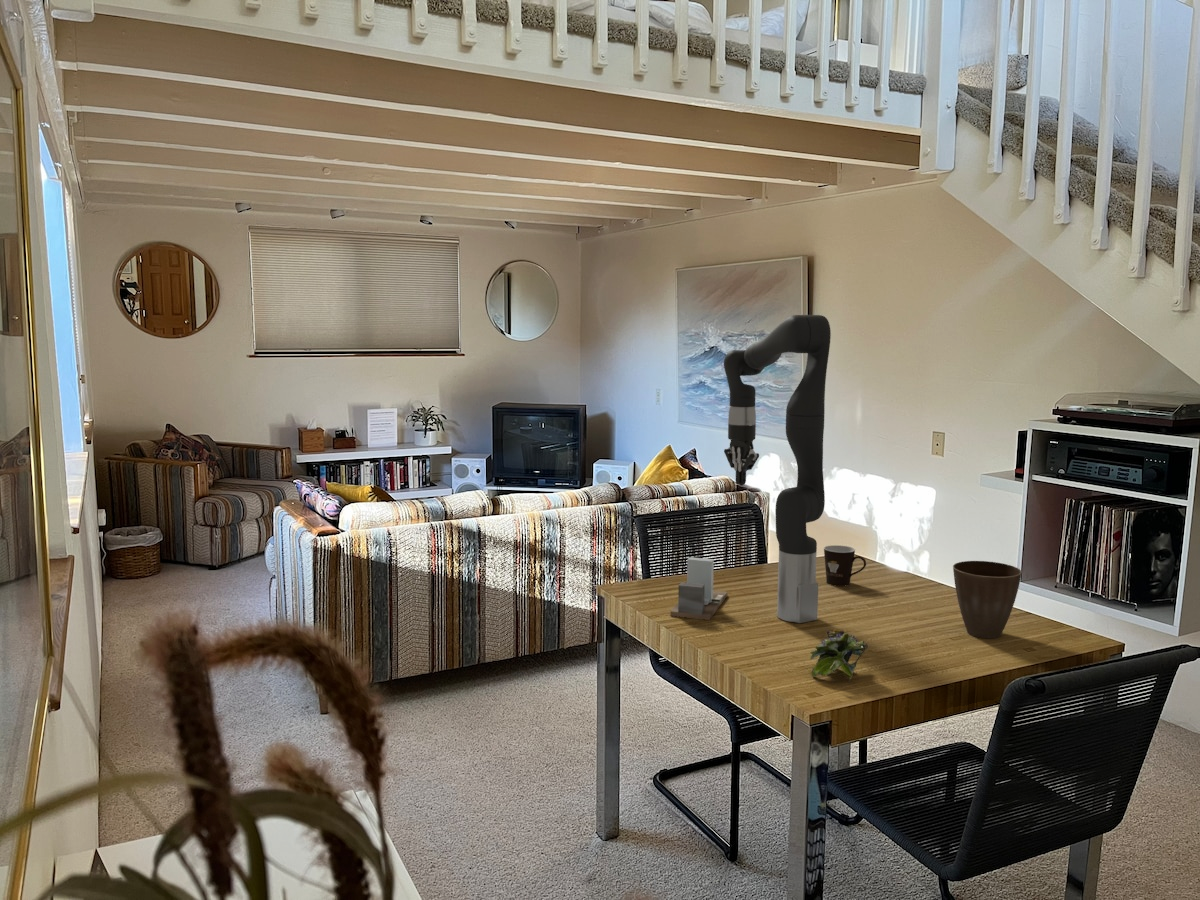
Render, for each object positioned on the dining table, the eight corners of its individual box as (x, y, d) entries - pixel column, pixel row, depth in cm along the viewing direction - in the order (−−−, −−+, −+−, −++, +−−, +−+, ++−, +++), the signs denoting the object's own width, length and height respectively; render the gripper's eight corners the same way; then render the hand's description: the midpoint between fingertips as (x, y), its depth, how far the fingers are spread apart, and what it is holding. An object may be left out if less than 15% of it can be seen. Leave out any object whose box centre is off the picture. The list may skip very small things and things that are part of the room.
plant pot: (977, 647, 209) (980, 578, 206) (936, 626, 223) (939, 562, 221) (1031, 641, 212) (1036, 574, 210) (988, 621, 227) (992, 558, 225)
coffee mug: (816, 580, 263) (817, 547, 262) (840, 577, 267) (841, 544, 265) (843, 591, 253) (844, 556, 251) (867, 587, 256) (868, 553, 255)
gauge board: (691, 592, 251) (691, 563, 250) (727, 596, 248) (727, 566, 247) (670, 616, 231) (670, 584, 230) (709, 620, 227) (709, 588, 226)
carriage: (689, 597, 241) (689, 556, 240) (721, 600, 239) (721, 559, 237) (681, 606, 234) (682, 564, 232) (714, 609, 231) (715, 567, 230)
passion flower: (832, 693, 196) (856, 643, 198) (862, 703, 186) (887, 650, 188) (792, 667, 193) (817, 617, 196) (820, 676, 183) (846, 623, 186)
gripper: (716, 421, 256) (715, 482, 258) (746, 425, 245) (745, 489, 247) (737, 419, 260) (736, 479, 262) (768, 424, 249) (766, 486, 251)
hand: (740, 484), depth 255 cm, fingers closed
